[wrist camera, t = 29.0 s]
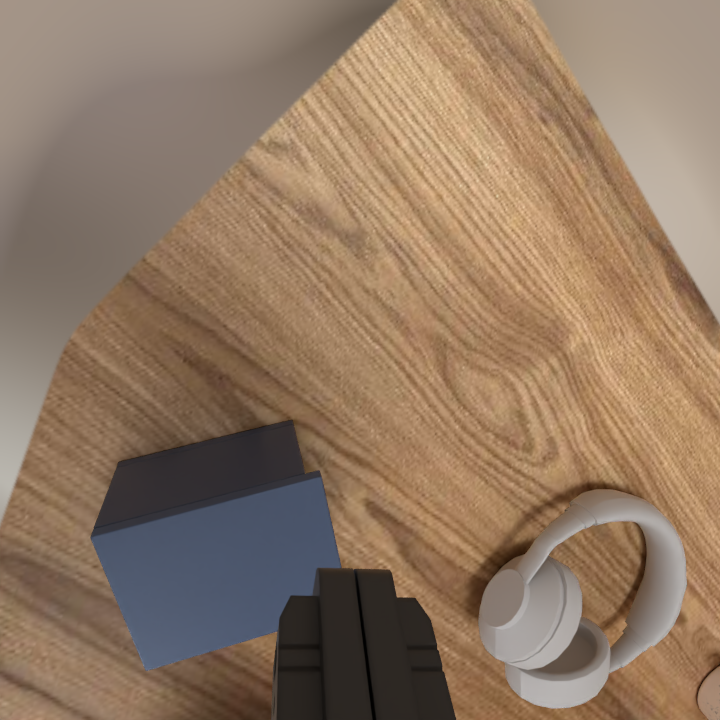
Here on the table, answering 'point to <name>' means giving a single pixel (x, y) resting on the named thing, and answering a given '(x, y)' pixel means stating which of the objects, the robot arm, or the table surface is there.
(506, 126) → the table surface
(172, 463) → the chest
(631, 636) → the headphones
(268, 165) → the table surface
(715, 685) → the teacup with lid
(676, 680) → the table surface
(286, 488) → the lid
